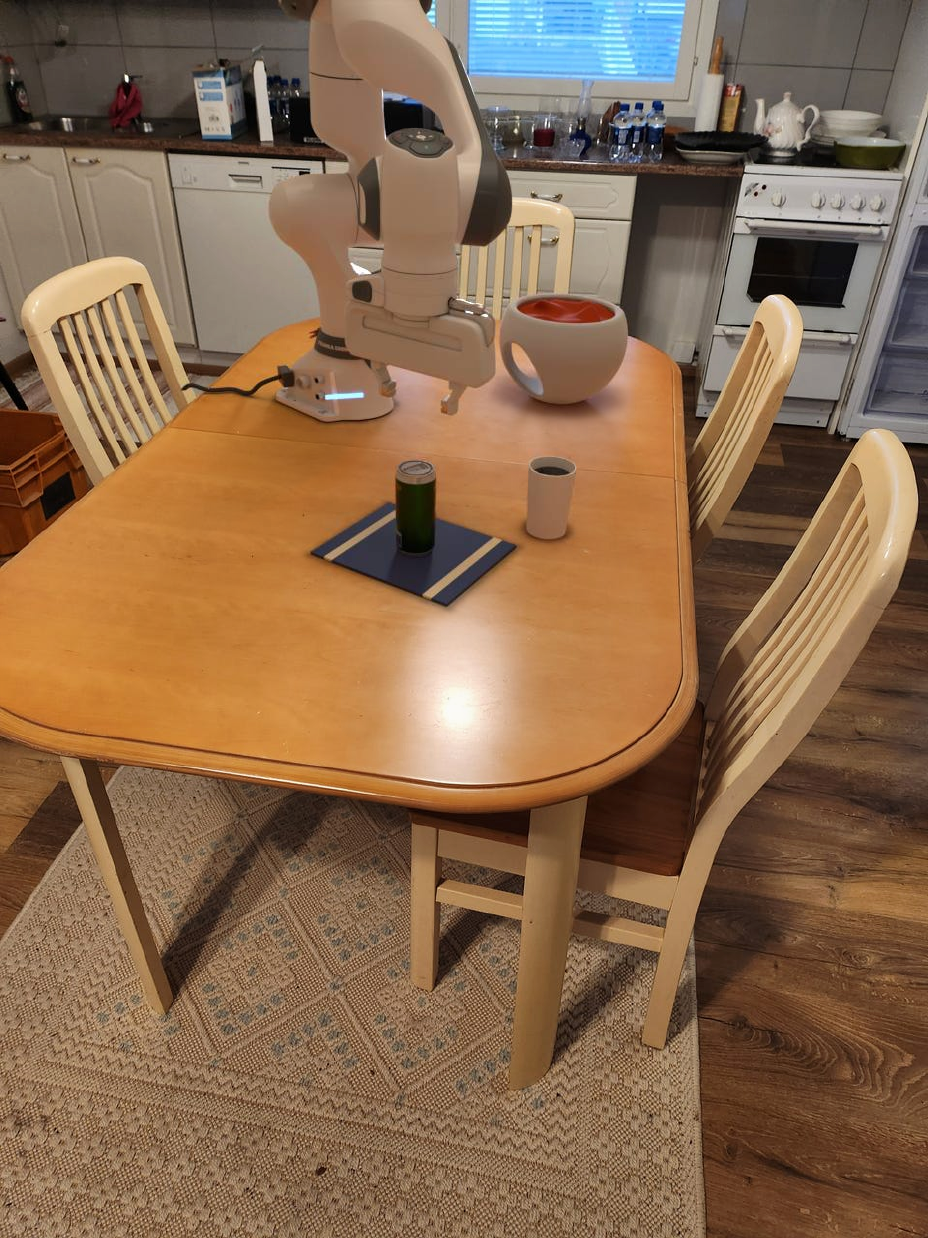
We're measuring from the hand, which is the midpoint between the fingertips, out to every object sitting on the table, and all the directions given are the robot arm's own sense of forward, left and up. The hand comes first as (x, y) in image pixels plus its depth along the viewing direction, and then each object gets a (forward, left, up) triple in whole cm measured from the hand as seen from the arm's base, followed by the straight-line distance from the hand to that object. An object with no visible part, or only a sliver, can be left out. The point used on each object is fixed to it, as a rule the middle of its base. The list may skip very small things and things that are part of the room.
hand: (417, 404), depth 109 cm
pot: (-10, +63, -21) cm, 67 cm away
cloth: (+1, -2, -20) cm, 20 cm away
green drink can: (+1, -2, -20) cm, 20 cm away
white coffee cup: (+13, +14, -21) cm, 28 cm away
